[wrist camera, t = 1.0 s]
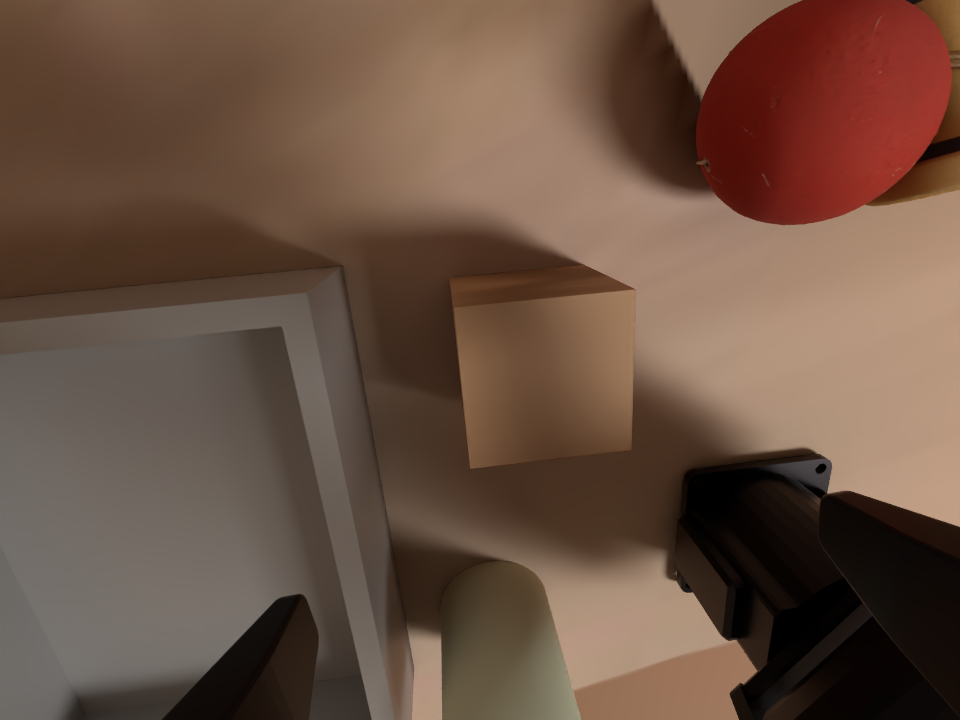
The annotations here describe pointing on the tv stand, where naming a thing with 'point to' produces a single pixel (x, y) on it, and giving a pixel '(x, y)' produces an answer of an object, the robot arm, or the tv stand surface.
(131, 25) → the tv stand surface
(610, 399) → the walnut cube
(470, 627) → the sage capsule
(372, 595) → the tote
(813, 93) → the kendama
